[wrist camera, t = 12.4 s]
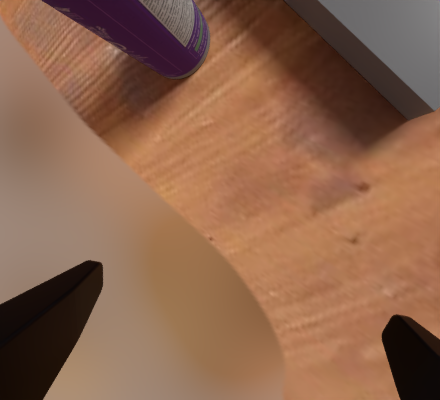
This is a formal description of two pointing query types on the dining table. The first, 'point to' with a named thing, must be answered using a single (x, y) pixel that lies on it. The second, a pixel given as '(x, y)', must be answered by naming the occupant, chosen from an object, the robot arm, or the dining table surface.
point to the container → (147, 30)
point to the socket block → (385, 45)
